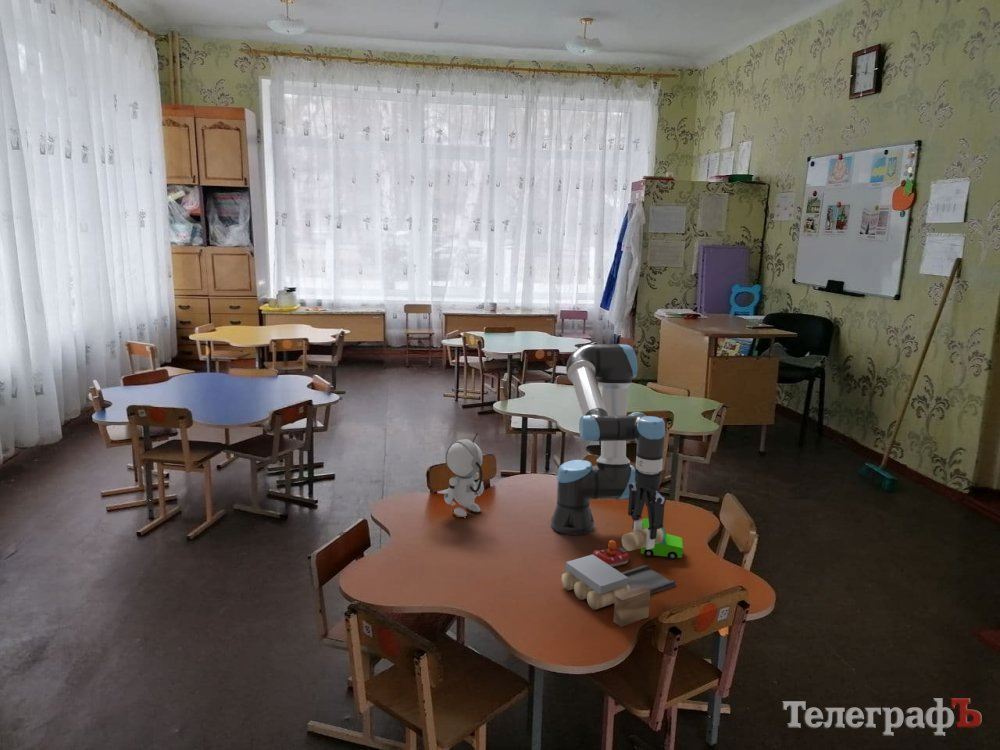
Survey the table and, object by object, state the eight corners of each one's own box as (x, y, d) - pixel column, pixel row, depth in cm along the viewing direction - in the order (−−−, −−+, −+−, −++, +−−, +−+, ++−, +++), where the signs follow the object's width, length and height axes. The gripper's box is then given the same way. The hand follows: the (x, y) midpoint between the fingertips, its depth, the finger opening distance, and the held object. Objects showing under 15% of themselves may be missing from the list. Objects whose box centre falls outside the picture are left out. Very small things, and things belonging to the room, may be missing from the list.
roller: (632, 553, 205) (633, 537, 204) (621, 546, 209) (622, 531, 208) (662, 545, 211) (664, 529, 210) (651, 538, 215) (652, 523, 214)
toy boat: (588, 560, 226) (589, 538, 224) (618, 554, 231) (620, 532, 229) (601, 571, 219) (602, 549, 218) (632, 564, 224) (633, 542, 223)
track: (561, 585, 210) (562, 561, 208) (637, 561, 226) (638, 538, 224) (617, 628, 189) (619, 601, 187) (697, 598, 204) (699, 573, 203)
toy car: (682, 563, 226) (685, 534, 223) (640, 558, 228) (642, 529, 226) (681, 548, 235) (683, 521, 233) (640, 544, 238) (642, 516, 236)
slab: (565, 569, 209) (566, 562, 209) (592, 561, 214) (592, 554, 214) (600, 594, 196) (600, 586, 195) (627, 585, 201) (628, 577, 201)
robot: (482, 506, 267) (484, 430, 262) (481, 519, 254) (482, 440, 249) (447, 505, 267) (447, 430, 262) (443, 518, 254) (443, 439, 249)
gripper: (618, 462, 210) (613, 535, 216) (660, 482, 195) (655, 559, 201) (637, 458, 214) (632, 530, 219) (680, 477, 199) (674, 553, 204)
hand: (643, 544), depth 210 cm, fingers closed on roller, 5 cm apart
